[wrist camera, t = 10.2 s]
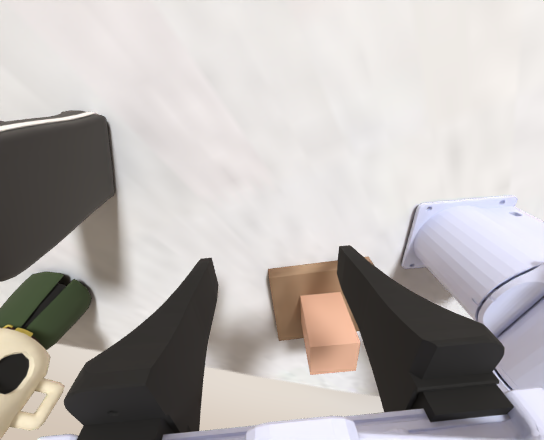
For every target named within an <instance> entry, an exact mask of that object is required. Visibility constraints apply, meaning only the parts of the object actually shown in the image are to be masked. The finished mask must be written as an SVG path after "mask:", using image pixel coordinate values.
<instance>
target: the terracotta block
mask: <svg viewBox="0 0 544 440" xmlns="http://www.w3.org/2000/svg"><path fill="white" fill-rule="evenodd" d="M300 304H301V325H302V330H303V336H304V342H305V347H306V353H307V359H308V364H309V370H310V375H314V374H324V373H335V372H345V371H356V366H357V360H358V354H359V348H360V340H359V338H358V335H357V333H356V330H355V327H354V325H353V322H352V320H351V317H350V315H349V312H348V310H347V307H346V304H345V302H344V299H343V297H342V294H341V292H334V293H324V294H313V295H303V296H300Z"/></svg>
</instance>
